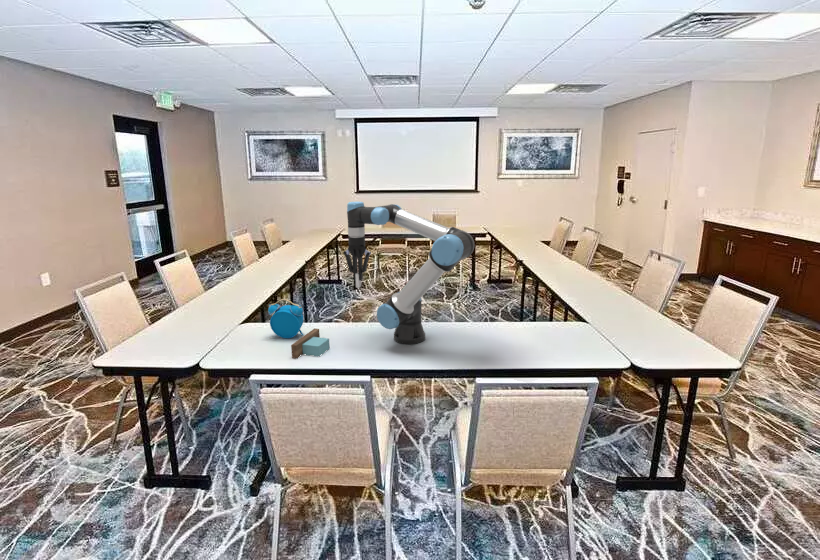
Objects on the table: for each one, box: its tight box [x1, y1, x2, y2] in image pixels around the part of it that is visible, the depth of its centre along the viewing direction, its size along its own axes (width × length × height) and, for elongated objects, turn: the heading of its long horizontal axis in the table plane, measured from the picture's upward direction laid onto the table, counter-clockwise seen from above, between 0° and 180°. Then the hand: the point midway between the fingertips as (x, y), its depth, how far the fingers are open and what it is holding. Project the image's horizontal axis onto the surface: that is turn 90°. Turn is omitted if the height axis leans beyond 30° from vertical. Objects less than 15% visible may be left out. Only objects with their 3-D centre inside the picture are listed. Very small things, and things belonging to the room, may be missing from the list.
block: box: [302, 337, 330, 357], centre depth 212 cm, size 8×10×5 cm
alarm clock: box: [267, 298, 304, 339], centre depth 228 cm, size 17×10×20 cm, turn 84°
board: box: [290, 328, 321, 359], centre depth 214 cm, size 2×22×6 cm, turn 165°
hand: (358, 286), depth 218 cm, fingers closed
